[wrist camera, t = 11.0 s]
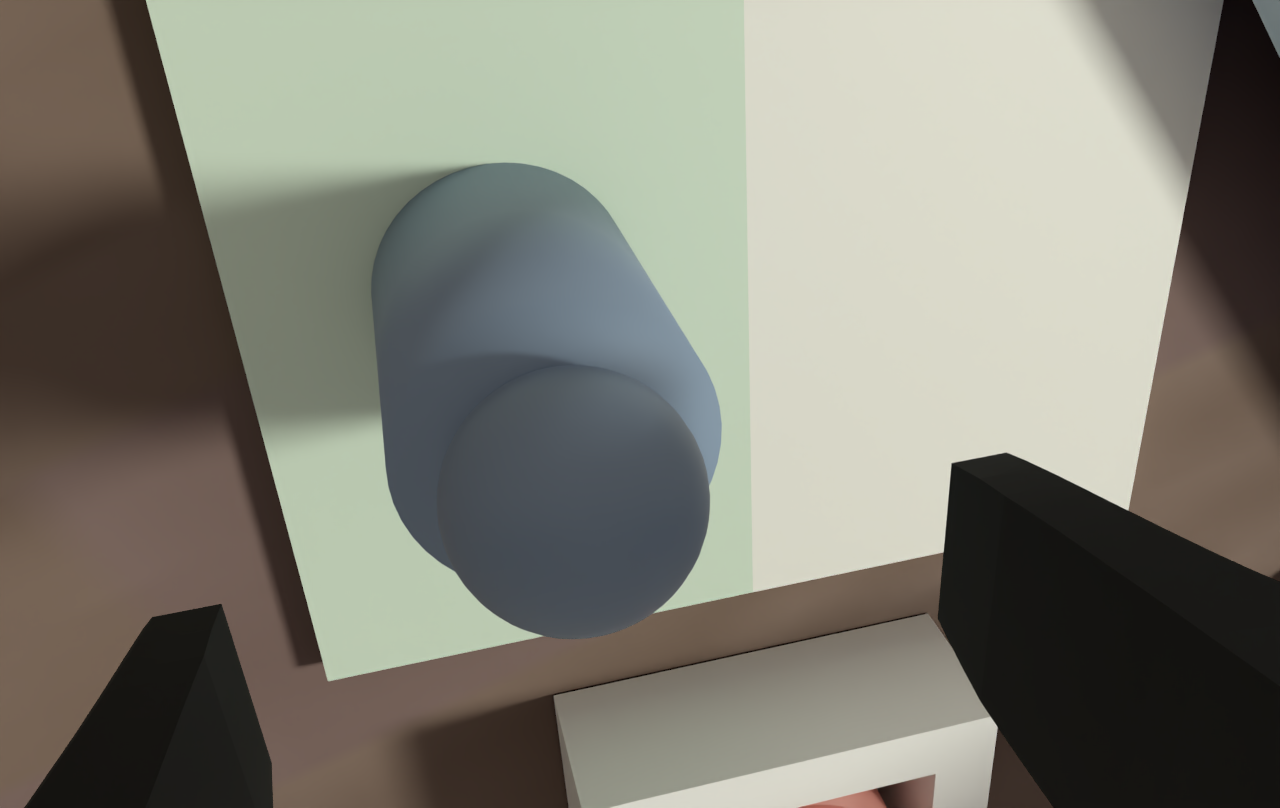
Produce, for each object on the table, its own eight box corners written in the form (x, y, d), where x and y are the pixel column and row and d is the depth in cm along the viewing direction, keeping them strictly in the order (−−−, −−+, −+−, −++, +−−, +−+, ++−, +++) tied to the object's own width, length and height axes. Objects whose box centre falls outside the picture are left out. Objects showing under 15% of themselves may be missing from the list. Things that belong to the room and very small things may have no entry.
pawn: (619, 145, 17) (792, 373, 11) (638, 380, 19) (792, 688, 13) (347, 183, 17) (361, 449, 10) (395, 422, 19) (431, 769, 12)
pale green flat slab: (1253, -286, 17) (1277, -286, 16) (1113, 500, 24) (1127, 513, 24) (100, -196, 14) (94, -195, 14) (327, 662, 21) (327, 681, 21)
